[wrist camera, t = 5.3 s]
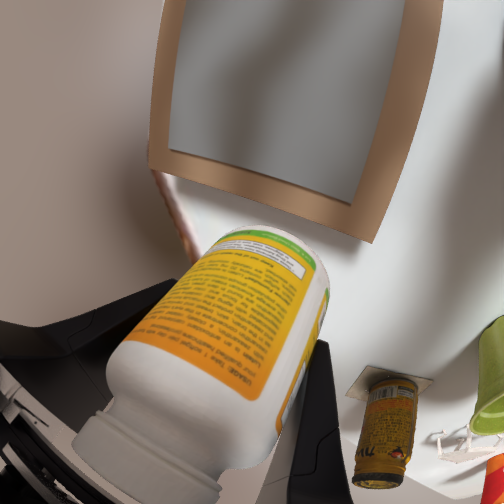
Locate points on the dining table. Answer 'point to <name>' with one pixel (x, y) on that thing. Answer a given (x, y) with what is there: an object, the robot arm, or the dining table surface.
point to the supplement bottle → (210, 370)
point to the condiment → (385, 426)
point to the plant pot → (490, 382)
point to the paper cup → (494, 481)
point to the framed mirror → (294, 101)
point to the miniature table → (466, 453)
